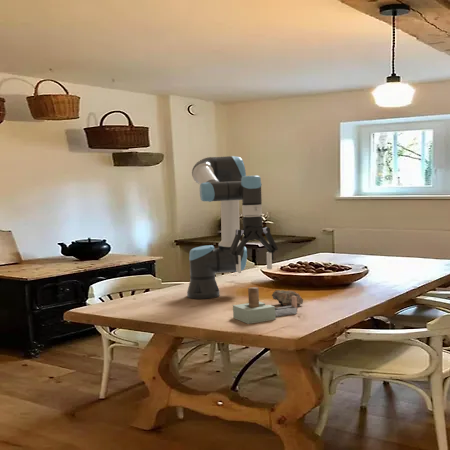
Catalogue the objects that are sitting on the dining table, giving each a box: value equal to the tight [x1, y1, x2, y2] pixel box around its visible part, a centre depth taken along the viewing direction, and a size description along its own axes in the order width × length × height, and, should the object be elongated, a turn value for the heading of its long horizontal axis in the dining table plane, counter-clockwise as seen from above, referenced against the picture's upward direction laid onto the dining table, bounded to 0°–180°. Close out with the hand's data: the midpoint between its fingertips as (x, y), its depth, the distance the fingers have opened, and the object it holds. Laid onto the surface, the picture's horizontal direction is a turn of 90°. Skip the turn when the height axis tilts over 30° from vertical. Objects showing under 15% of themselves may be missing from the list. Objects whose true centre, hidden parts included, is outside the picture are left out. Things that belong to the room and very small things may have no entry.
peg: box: [247, 286, 260, 308], centre depth 238 cm, size 4×4×12 cm
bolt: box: [275, 296, 298, 310], centre depth 245 cm, size 2×9×6 cm, turn 117°
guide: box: [275, 306, 298, 318], centre depth 244 cm, size 5×12×2 cm, turn 117°
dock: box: [232, 301, 276, 325], centre depth 238 cm, size 12×12×5 cm
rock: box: [271, 290, 304, 307], centre depth 261 cm, size 7×11×10 cm
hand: (254, 270), depth 237 cm, fingers open, 13 cm apart
